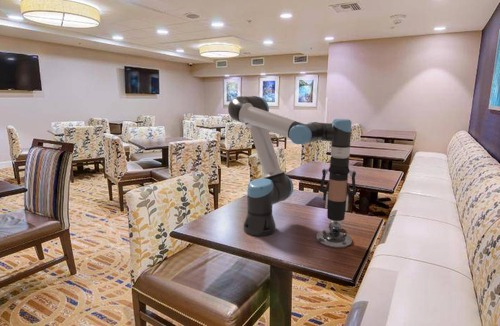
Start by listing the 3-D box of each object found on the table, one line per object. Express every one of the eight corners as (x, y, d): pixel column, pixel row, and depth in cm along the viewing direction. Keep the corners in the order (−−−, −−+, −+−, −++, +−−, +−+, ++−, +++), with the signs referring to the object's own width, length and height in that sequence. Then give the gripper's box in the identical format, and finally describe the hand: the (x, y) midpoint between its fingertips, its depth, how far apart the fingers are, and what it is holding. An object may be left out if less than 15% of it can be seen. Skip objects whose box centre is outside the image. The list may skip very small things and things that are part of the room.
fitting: (314, 244, 134) (315, 232, 133) (319, 225, 154) (320, 214, 153) (351, 250, 130) (352, 237, 129) (351, 229, 150) (352, 218, 149)
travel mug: (326, 220, 134) (329, 174, 130) (326, 214, 141) (329, 170, 137) (345, 222, 132) (349, 175, 128) (344, 215, 140) (347, 171, 136)
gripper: (313, 156, 131) (311, 209, 135) (366, 160, 125) (361, 214, 129) (315, 153, 138) (313, 203, 142) (365, 156, 132) (361, 208, 136)
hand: (336, 208), depth 136 cm, fingers closed on travel mug, 8 cm apart
